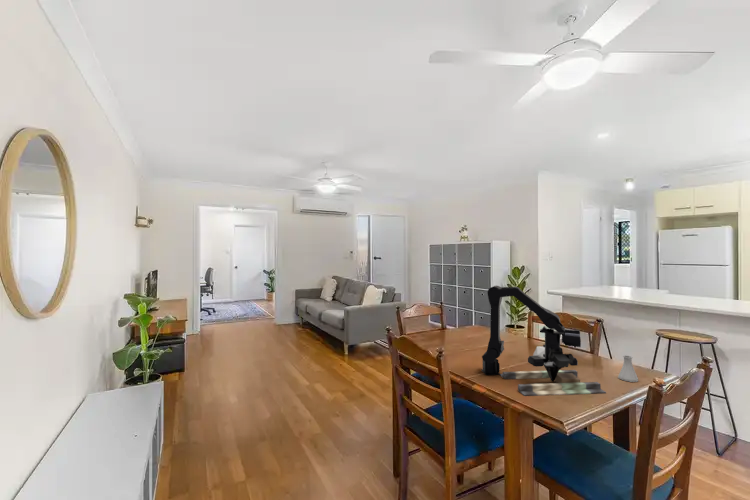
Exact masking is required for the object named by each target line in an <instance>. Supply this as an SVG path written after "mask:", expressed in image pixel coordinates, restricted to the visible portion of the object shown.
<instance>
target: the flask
mask: <svg viewBox="0 0 750 500" xmlns="http://www.w3.org/2000/svg"><path fill="white" fill-rule="evenodd" d="M622 357H623V364H622V367H621V369H620V371H619V373H618V376H617V379H620V380H622V381H625V382H630V383H634V382H635V383H638V382H639V378H638V375H637V373H636V370H635V368H634V365H633V361H632V360H633V356H632V355H627V354H626V355H625V354H624V355H623V356H622Z"/></svg>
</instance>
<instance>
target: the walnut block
mask: <svg viewBox="0 0 750 500" xmlns="http://www.w3.org/2000/svg"><path fill="white" fill-rule="evenodd" d="M578 382H581V379H580V378H579V377H576V376H575V375H574V374H572V373H557V376H556V378H555V381H554V383H578Z"/></svg>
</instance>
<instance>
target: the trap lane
mask: <svg viewBox="0 0 750 500" xmlns="http://www.w3.org/2000/svg"><path fill="white" fill-rule="evenodd" d="M558 373H572V374H574V375H575V376H576V377H578V371H577V370H576V369H565V370H564V369H563V370H561V369H560V370H559V371H558ZM499 376H501V378H502V379H504V380H524V379H525V380H527V379H550V377H549V375H548V373H547V370H522V371H520V370H519V371H502V373H500V375H499ZM578 378H579V377H578ZM601 387H602V386H601V383H599V382H598V381H589V382H587V381H586V382H582V381H580V382H578V383H556V382H553V383H550V382H548V383H547V382H546V383H523V384H522V383H519V384H517V391H518V392H519V393H520V394H521V395H522V396H525V397H527V396H528V397H531V396H532V397H535V396H561V395H565V396H566V395H591V394H593V395H594V394H596V395H597V394H606V393H607V391H605V390H603V389H602V388H601Z"/></svg>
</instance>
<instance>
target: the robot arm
mask: <svg viewBox="0 0 750 500" xmlns="http://www.w3.org/2000/svg"><path fill="white" fill-rule="evenodd" d="M486 294H487V299H488V302H489V307H490V314H489V315H490V318H489V319H490V320H489V322H490V326H489V327H490V329H489V331H490V332H489V333H490V334H489V340H488V344H487V349H486V351H485V352H484V354H483V355H481V359H482V369H481V372H482V373H483V374H484V375H485V376H500V374H501V373H500V372H501V371H500V366H501V364H500V363H499V359H498V358H499V357H500V356H501V355H502V353H503V352H504V351H505V347H504V344H505V340H501V304H502V300H503V298H507V297H514V298H515V299H516V300H518V301H519V302H520V303H521V304H523V305H524V306H526V307H527V308H528V309H529V310H530V311H531V312H533V314H535V315H536V316H537V317H538V318H539V320H540V321H541V322H542V323H543V325H544V326H543V327H542V328H541V329H540V330H539V333H542V334H544V344H542V346H543V347H544V348H545V354H543V357H545V358H540V357H538V356H533V355H529V356H528V358H527V363H529V364H530V365H532V366H533V367H544V369H545V371H547V373H548V375H549V377H550V378H549V379H550V381H551V382H555V378H556V376H557V373H558V371H559V370H561V369H563V368H569V366H572V367H573V366H575V367H576V366H578V359H577V358H576V357H575V356H574V355H573V354H572V353H564V352H563V348H562V347H561V343H563V345H564V346H566V347H576V348H581V345H582V343H581V342H582V340H581V330H580V329H567V328H565V326H564V324H562V322H561V319H560V316H559V315H558V314H557V313H555V312H553V311H552V310H550V309H548V308H545V306H544V307H543V306H542V305H541V304H540V303H538V301H535V300H534V299H533V298H531V296H530V295H528V294H527V293H526V292H524V291H523V289H522V290H521V288H520V287H518V286H503V287H501V286H500V285H493V286H491V287H490V288H488V290H487V293H486ZM548 360H549V361H548Z"/></svg>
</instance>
